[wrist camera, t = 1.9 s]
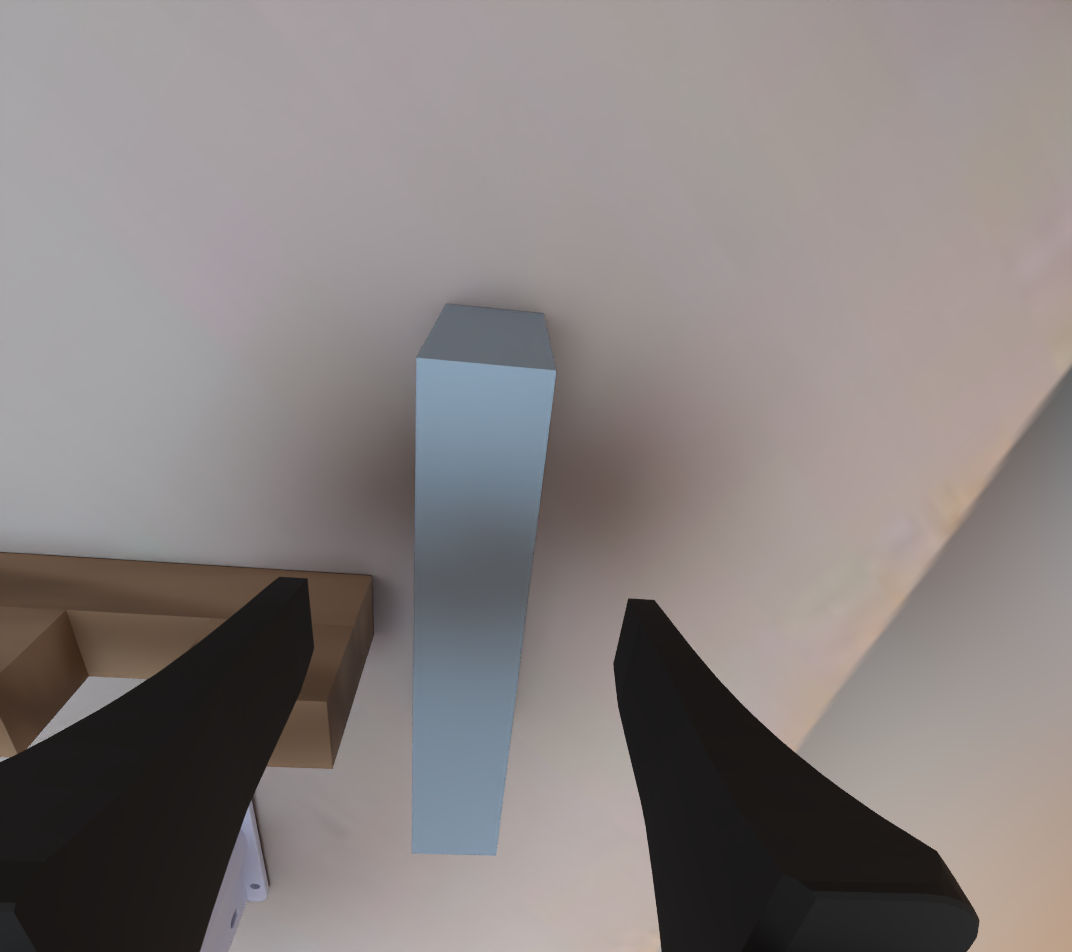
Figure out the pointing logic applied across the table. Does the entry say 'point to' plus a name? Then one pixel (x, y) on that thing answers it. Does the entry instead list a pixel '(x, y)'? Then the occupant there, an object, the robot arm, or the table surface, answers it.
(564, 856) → the table surface
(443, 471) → the slate crossbar
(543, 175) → the table surface
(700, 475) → the table surface
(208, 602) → the walnut beam
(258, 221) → the table surface
